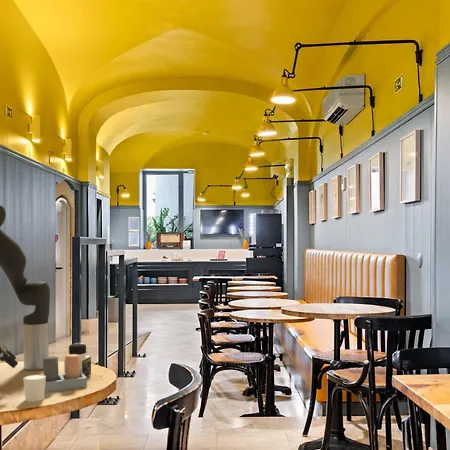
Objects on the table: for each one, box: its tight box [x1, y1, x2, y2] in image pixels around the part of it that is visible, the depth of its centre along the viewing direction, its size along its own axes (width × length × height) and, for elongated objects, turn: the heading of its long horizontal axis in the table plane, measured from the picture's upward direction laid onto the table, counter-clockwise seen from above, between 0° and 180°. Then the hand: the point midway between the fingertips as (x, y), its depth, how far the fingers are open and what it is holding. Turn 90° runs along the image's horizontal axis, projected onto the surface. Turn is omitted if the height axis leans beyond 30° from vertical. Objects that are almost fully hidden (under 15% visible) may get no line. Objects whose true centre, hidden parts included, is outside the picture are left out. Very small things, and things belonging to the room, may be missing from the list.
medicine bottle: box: [63, 342, 92, 378], centre depth 208 cm, size 7×7×12 cm
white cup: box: [22, 374, 46, 403], centre depth 182 cm, size 7×7×7 cm
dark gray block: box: [42, 356, 59, 382], centre depth 195 cm, size 5×5×10 cm
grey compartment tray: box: [45, 354, 88, 393], centre depth 196 cm, size 9×15×10 cm, turn 114°
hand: (15, 362), depth 191 cm, fingers open, 8 cm apart
